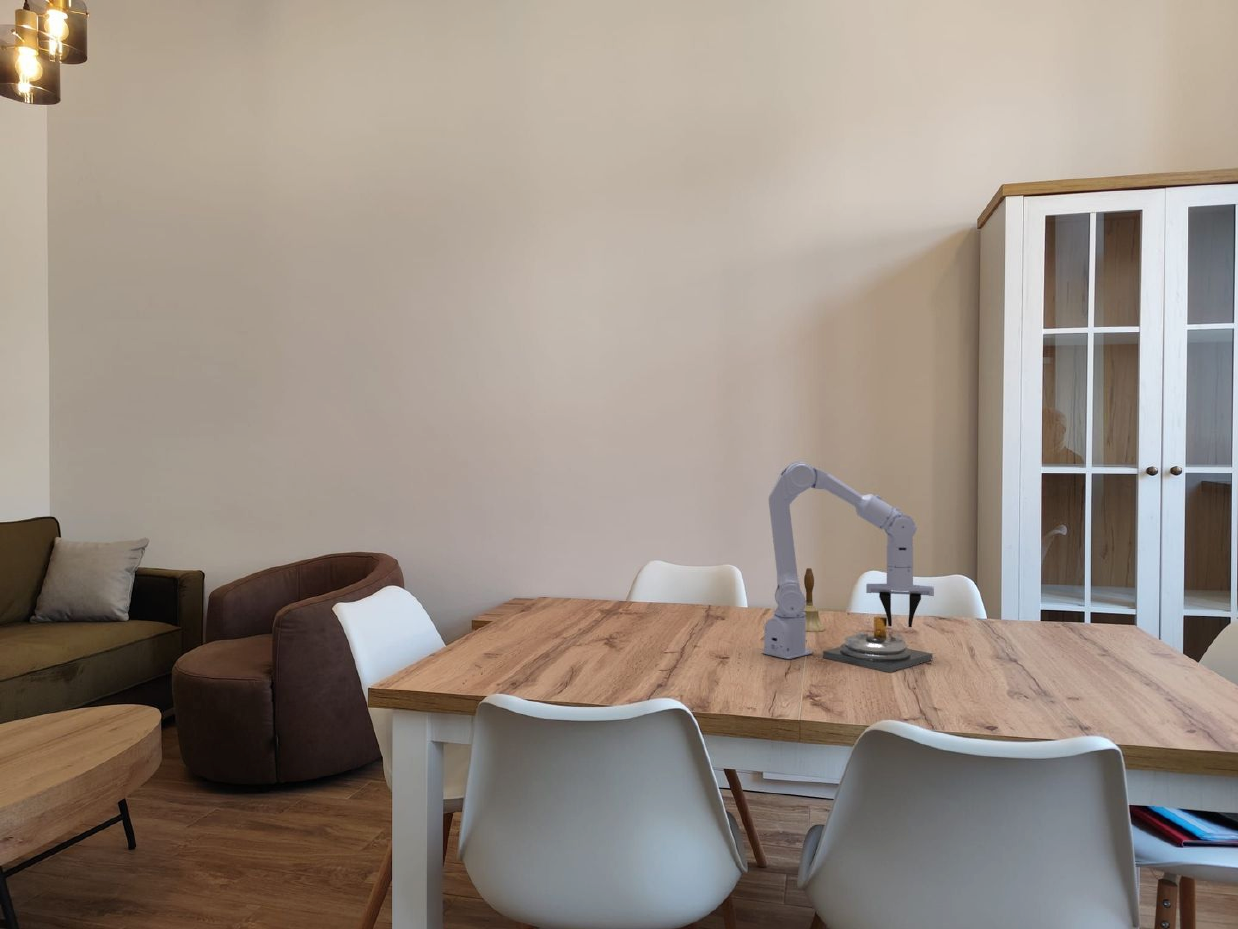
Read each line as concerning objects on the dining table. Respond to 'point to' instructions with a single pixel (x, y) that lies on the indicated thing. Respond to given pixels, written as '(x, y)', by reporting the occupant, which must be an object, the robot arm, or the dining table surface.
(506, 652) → the dining table surface
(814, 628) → the hand bell
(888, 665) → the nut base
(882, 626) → the grey crank wheel
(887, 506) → the robot arm
